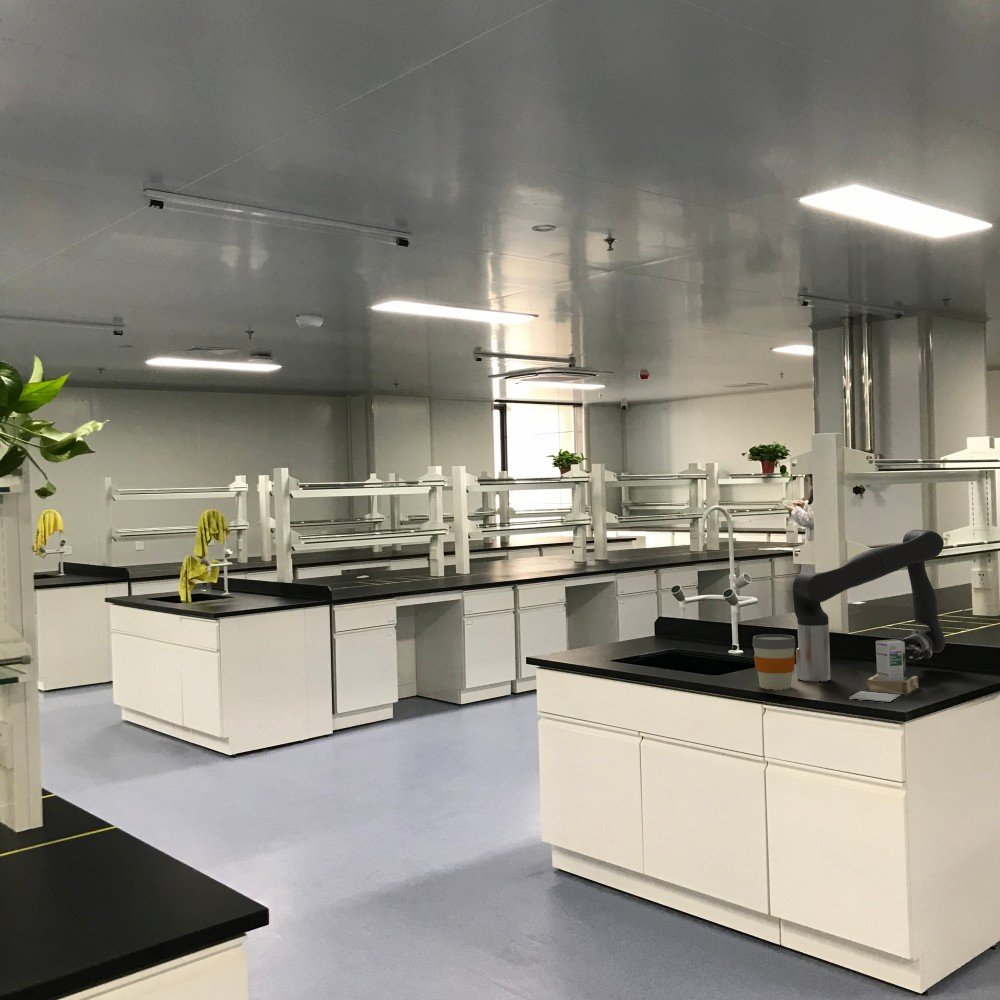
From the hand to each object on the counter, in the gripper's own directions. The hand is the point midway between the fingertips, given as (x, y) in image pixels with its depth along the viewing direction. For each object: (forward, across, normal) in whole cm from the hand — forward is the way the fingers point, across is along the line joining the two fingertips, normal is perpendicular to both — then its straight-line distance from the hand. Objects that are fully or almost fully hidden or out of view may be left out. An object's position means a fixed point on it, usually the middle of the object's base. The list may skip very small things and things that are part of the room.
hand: (899, 655), depth 294 cm
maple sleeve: (+8, 0, +9) cm, 12 cm away
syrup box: (+8, 0, +9) cm, 13 cm away
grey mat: (+22, -1, +9) cm, 23 cm away
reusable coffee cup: (+18, -31, +9) cm, 37 cm away
